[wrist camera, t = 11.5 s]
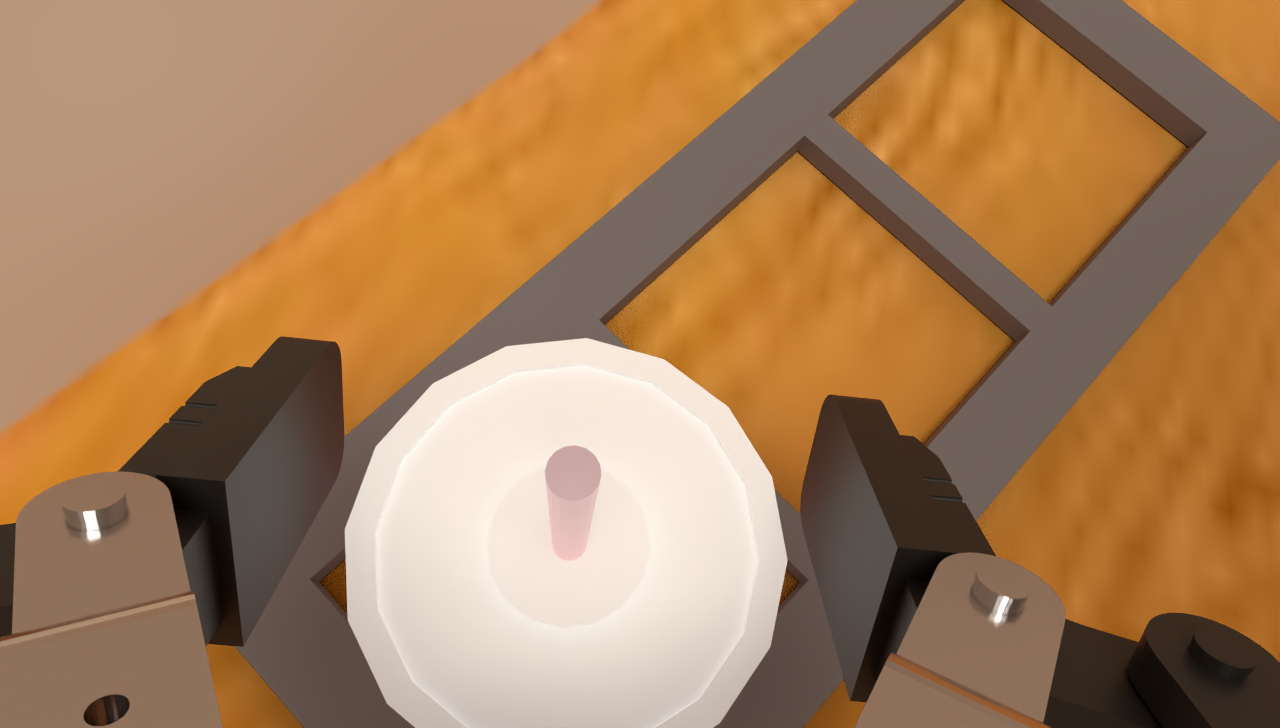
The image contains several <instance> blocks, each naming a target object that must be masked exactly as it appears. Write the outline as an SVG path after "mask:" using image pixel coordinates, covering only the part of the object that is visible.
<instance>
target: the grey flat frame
mask: <svg viewBox="0 0 1280 728" xmlns="http://www.w3.org/2000/svg"><path fill="white" fill-rule="evenodd" d="M963 1H964V0H857V1H856V2H855V3H853V4H852V5H851V6H850V7H849V8H848V9H846V10H845V11H844V12H843V13H842V14H840V15H839V16H838V17H837V18H836V19H835V20H833V21H832V22H831V23H830V24H829V25H828V26H826V27H825V28H824V29H823V30H822V31H820V32H819V33H818V34H817V35H816V36H815V37H813V38H812V39H811V40H810V41H809V42H808V43H806V44H805V45H804V46H803V47H802V48H801V49H799V50H798V51H797V52H796V53H795V54H793V55H792V56H791V57H790V58H789V59H788V60H786V61H785V62H784V63H783V64H782V65H781V66H779V67H778V68H777V69H776V70H775V71H773V72H772V73H771V74H770V75H769V76H768V77H766V78H765V79H764V80H763V81H762V82H761V83H759V84H758V85H757V86H756V87H755V88H754V89H752V90H751V91H750V92H749V93H748V94H746V95H745V96H744V97H743V98H742V99H741V100H739V101H738V102H737V103H736V104H735V105H734V106H732V107H731V108H730V109H729V110H728V111H727V112H725V113H724V114H723V115H722V116H721V117H719V118H718V119H717V120H716V121H715V122H714V123H712V124H711V125H710V126H709V127H708V128H707V129H705V130H704V131H703V132H702V133H701V134H699V135H698V136H697V137H696V138H695V139H694V140H692V141H691V142H690V143H689V144H688V145H687V146H685V147H684V148H683V149H682V150H681V151H680V152H678V153H677V154H676V155H675V156H674V157H672V158H671V159H670V160H669V161H668V162H667V163H665V164H664V165H663V166H662V167H661V168H660V169H658V170H657V171H656V172H655V173H654V174H653V175H651V176H650V177H649V178H648V179H647V180H645V181H644V182H643V183H642V184H641V185H640V186H638V187H637V188H636V189H635V190H634V191H633V192H631V193H630V194H629V195H628V196H627V197H625V198H624V199H623V200H622V201H621V202H620V203H618V204H617V205H616V206H615V207H614V208H613V209H611V210H610V211H609V212H608V213H607V214H606V215H604V216H603V217H602V218H601V219H600V220H598V221H597V222H596V223H595V224H594V225H593V226H591V227H590V228H589V229H588V230H587V231H586V232H584V233H583V234H582V235H581V236H580V237H579V238H577V239H576V240H575V241H574V242H573V243H571V244H570V245H569V246H568V247H567V248H566V249H564V250H563V251H562V252H561V253H560V254H559V255H557V256H556V257H555V258H554V259H553V260H551V261H550V262H549V263H548V264H547V265H546V266H544V267H543V268H542V269H541V270H540V271H539V272H537V273H536V274H535V275H534V276H533V277H532V278H530V279H529V280H528V281H527V282H526V283H524V284H523V285H522V286H521V287H520V288H519V289H517V290H516V291H515V292H514V293H513V294H512V295H510V296H509V297H508V298H507V299H506V300H505V301H503V302H502V303H501V304H500V305H499V306H497V307H496V308H495V309H494V310H493V311H492V312H490V313H489V314H488V315H487V316H486V317H485V318H483V319H482V320H481V321H480V322H479V323H477V324H476V325H475V326H474V327H473V328H472V329H470V330H469V331H468V332H467V333H466V334H465V335H463V336H462V337H461V338H460V339H459V340H458V341H456V342H455V343H454V344H453V345H452V346H450V347H449V348H448V349H447V350H446V351H445V352H443V353H442V354H441V355H440V356H439V357H438V358H436V359H435V360H434V361H433V362H432V363H431V364H429V365H428V366H427V367H426V368H425V369H423V370H422V371H421V372H420V373H419V374H418V375H416V376H415V377H414V378H413V379H412V380H411V381H409V382H408V383H407V384H406V385H405V386H403V387H402V388H401V389H400V390H399V391H398V392H396V393H395V394H394V395H393V396H392V397H391V398H389V399H388V400H387V401H386V402H385V403H384V404H382V405H381V406H380V407H379V408H378V409H376V410H375V411H374V412H373V413H372V414H371V415H369V416H368V417H367V418H366V419H365V420H364V421H362V422H361V423H360V424H359V425H358V426H357V427H355V428H354V429H353V430H352V431H351V432H349V433H348V434H347V435H346V436H345V437H344V452H343V459H342V464H341V468H340V471H339V474H338V477H337V480H336V482H335V484H334V485H333V487H332V489H331V491H330V493H329V494H328V496H327V498H326V500H325V502H324V503H323V505H322V507H321V509H320V511H319V512H318V514H317V516H316V518H315V519H314V521H313V523H312V525H311V527H310V528H309V530H308V532H307V534H306V536H305V537H304V539H303V541H302V543H301V545H300V546H299V548H298V550H297V552H296V554H295V555H294V557H293V559H292V561H291V563H290V564H289V566H288V568H287V570H286V572H285V573H284V575H283V577H282V579H281V581H280V582H279V584H278V586H277V588H276V590H275V591H274V593H273V595H272V597H271V598H270V600H269V602H268V604H267V606H266V607H265V609H264V611H263V613H262V615H261V616H260V618H259V620H258V622H257V624H256V625H255V627H254V629H253V631H252V633H251V634H250V636H249V638H248V640H247V642H246V643H245V645H244V647H241V646H235V647H236V648H237V650H238V651H239V652H240V653H241V654H242V655H243V657H244V658H245V659H246V660H247V661H248V663H249V664H250V665H251V666H252V667H253V668H254V670H255V671H256V672H257V673H258V674H259V675H260V677H261V678H262V679H263V680H264V681H265V683H266V684H267V685H268V686H269V687H270V688H271V690H272V691H273V692H274V693H275V694H276V695H277V697H278V698H279V699H280V700H281V701H282V703H283V704H284V705H285V706H286V707H287V708H288V710H289V711H290V712H291V713H292V714H293V715H294V717H295V718H296V719H297V720H298V721H299V723H300V724H301V725H302V726H303V727H304V728H415V727H414V726H413V725H411V724H410V723H409V722H408V721H407V720H406V719H404V718H403V717H402V716H401V715H400V714H398V713H397V712H396V711H395V710H394V709H393V708H391V707H390V706H389V705H388V704H387V703H386V700H385V698H384V696H383V694H382V692H381V690H380V688H379V686H378V683H377V681H376V679H375V677H374V675H373V673H372V671H371V669H370V667H369V664H368V662H367V660H366V658H365V656H364V654H363V652H362V650H361V647H360V645H359V643H358V641H357V639H356V637H355V635H354V633H353V630H352V628H351V626H350V624H349V622H348V615H347V613H346V612H345V610H344V609H343V608H342V607H341V606H340V605H339V604H338V603H337V601H336V600H335V599H334V598H333V597H332V596H331V595H330V594H329V592H328V591H327V590H326V589H325V588H324V587H323V586H322V585H321V583H320V581H321V580H322V579H323V578H324V577H325V576H326V575H328V574H329V573H330V572H331V571H332V570H333V569H334V568H335V567H336V566H338V565H339V564H340V563H341V562H342V561H343V560H344V559H345V558H346V555H345V527H346V525H347V522H348V519H349V517H350V514H351V511H352V509H353V506H354V503H355V501H356V498H357V495H358V493H359V490H360V487H361V484H362V482H363V479H364V476H365V474H366V471H367V468H368V466H369V463H370V460H371V458H372V455H373V452H374V450H375V447H376V446H377V445H378V444H379V442H380V441H381V440H382V439H383V438H384V437H385V436H386V435H387V434H388V432H389V431H390V430H391V429H392V428H393V427H394V426H395V425H396V424H397V423H398V421H399V420H400V419H401V418H402V417H403V416H404V415H405V414H406V413H407V411H408V410H409V409H410V408H411V407H412V406H413V405H414V404H415V403H416V401H417V400H418V399H419V398H420V397H421V396H422V395H423V394H424V393H425V391H426V390H427V389H428V388H429V387H430V386H431V385H432V384H433V383H435V382H437V381H439V380H441V379H443V378H445V377H446V376H448V375H450V374H452V373H454V372H456V371H458V370H460V369H462V368H464V367H466V366H468V365H470V364H472V363H474V362H476V361H478V360H480V359H482V358H484V357H486V356H488V355H490V354H492V353H494V352H496V351H498V350H500V349H502V348H504V347H506V346H513V345H523V344H533V343H543V342H553V341H563V340H573V339H582V338H588V339H592V340H596V341H599V342H603V343H607V344H610V345H614V346H618V347H621V348H625V349H629V348H627V347H626V346H625V345H624V344H623V343H622V342H621V341H620V340H619V339H618V338H617V337H616V336H615V335H614V334H613V333H612V332H611V331H610V330H609V329H608V328H607V327H606V326H605V324H606V323H607V322H608V321H609V320H611V319H612V318H613V317H614V316H615V315H616V314H617V313H618V312H619V311H620V310H622V309H623V308H624V307H625V306H626V305H627V304H628V303H629V302H630V301H632V300H633V299H634V298H635V297H636V296H637V295H638V294H639V293H640V292H642V291H643V290H644V289H645V288H646V287H647V286H648V285H649V284H650V283H652V282H653V281H654V280H655V279H656V278H657V277H658V276H659V275H660V274H662V273H663V272H664V271H665V270H666V269H667V268H668V267H669V266H670V265H672V264H673V263H674V262H675V261H676V260H677V259H678V258H679V257H680V256H682V255H683V254H684V253H685V252H686V251H687V250H688V249H689V248H690V247H691V246H693V245H694V244H695V243H696V242H697V241H698V240H699V239H700V238H701V237H703V236H704V235H705V234H706V233H707V232H708V231H709V230H710V229H711V228H713V227H714V226H715V225H716V224H717V223H718V222H719V221H720V220H721V219H723V218H724V217H725V216H726V215H727V214H728V213H729V212H730V211H731V210H733V209H734V208H735V207H736V206H737V205H738V204H739V203H740V202H741V201H743V200H744V199H745V198H746V197H747V196H748V195H749V194H750V193H751V192H753V191H754V190H755V189H756V188H757V187H758V186H759V185H760V184H761V183H762V182H764V181H765V180H766V179H767V178H768V177H769V176H770V175H771V174H772V173H774V172H775V171H776V170H777V169H778V168H779V167H780V166H781V165H782V164H784V163H785V162H786V161H787V160H788V159H789V158H790V157H791V156H792V155H794V154H795V153H796V152H797V151H798V152H799V153H800V154H801V155H802V156H804V157H805V158H806V159H807V160H808V161H809V162H810V163H812V164H813V165H814V166H815V167H816V168H817V169H818V170H820V171H821V172H822V173H823V174H824V175H825V176H826V177H828V178H829V179H830V180H831V181H832V182H833V183H834V184H836V185H837V186H838V187H839V188H840V189H841V190H842V191H844V192H845V193H846V194H847V195H848V196H849V197H850V198H852V199H853V200H854V201H855V202H856V203H857V204H859V205H860V206H861V207H862V208H863V209H864V210H865V211H867V212H868V213H869V214H870V215H871V216H872V217H873V218H875V219H876V220H877V221H878V222H879V223H880V224H881V225H883V226H884V227H885V228H886V229H887V230H888V231H889V232H891V233H892V234H893V235H894V236H895V237H896V238H897V239H899V240H900V241H901V242H902V243H903V244H904V245H905V246H907V247H908V248H909V249H910V250H911V251H912V252H913V253H915V254H916V255H917V256H918V257H919V258H920V259H921V260H923V261H924V262H925V263H926V264H927V265H928V266H930V267H931V268H932V269H933V270H934V271H935V272H936V273H938V274H939V275H940V276H941V277H942V278H943V279H944V280H946V281H947V282H948V283H949V284H950V285H951V286H952V287H954V288H955V289H956V290H957V291H958V292H959V293H960V294H962V295H963V296H964V297H965V298H966V299H967V300H968V301H970V302H971V303H972V304H973V305H974V306H975V307H976V308H978V309H979V310H980V311H981V312H982V313H983V314H984V315H986V316H987V317H988V318H989V319H990V320H991V321H992V322H994V323H995V324H996V325H997V326H998V327H999V328H1000V329H1002V330H1003V331H1004V332H1005V333H1006V334H1007V335H1009V336H1010V337H1011V338H1012V339H1013V340H1014V341H1015V342H1014V344H1013V345H1012V346H1011V347H1010V348H1009V349H1008V350H1007V351H1006V353H1005V354H1004V355H1003V356H1002V357H1001V358H1000V359H999V360H998V361H997V363H996V364H995V365H994V366H993V367H992V368H991V369H990V370H989V372H988V373H987V374H986V375H985V376H984V377H983V378H982V379H981V381H980V382H979V383H978V384H977V385H976V386H975V387H974V388H973V389H972V391H971V392H970V393H969V394H968V395H967V396H966V397H965V398H964V400H963V401H962V402H961V403H960V404H959V405H958V406H957V407H956V408H955V410H954V411H953V412H952V413H951V414H950V415H949V416H948V417H947V419H946V420H945V421H944V422H943V423H942V424H941V425H940V426H939V428H938V429H937V430H936V431H935V432H934V433H933V434H932V435H931V436H930V438H929V439H928V440H927V441H926V442H925V443H924V444H923V445H925V446H926V447H927V448H928V449H930V450H931V451H932V452H933V453H934V454H936V455H937V456H938V457H939V458H940V460H941V461H942V463H943V465H944V467H945V468H946V470H947V472H948V474H949V475H950V477H951V479H952V484H955V486H956V487H957V489H958V491H959V493H960V494H961V496H962V498H963V500H962V502H963V503H966V505H967V507H968V508H969V510H970V512H971V513H972V515H973V517H974V519H975V520H977V519H978V518H979V517H980V516H981V514H982V513H983V512H984V511H985V510H986V509H987V507H988V506H989V505H990V504H991V503H992V501H993V500H994V499H995V498H996V497H997V495H998V494H999V493H1000V492H1001V491H1002V489H1003V488H1004V487H1005V486H1006V485H1007V483H1008V482H1009V481H1010V480H1011V479H1012V477H1013V476H1014V475H1015V474H1016V473H1017V472H1018V470H1019V469H1020V468H1021V467H1022V466H1023V464H1024V463H1025V462H1026V461H1027V460H1028V458H1029V457H1030V456H1031V455H1032V454H1033V452H1034V451H1035V450H1036V449H1037V448H1038V446H1039V445H1040V444H1041V443H1042V442H1043V440H1044V439H1045V438H1046V437H1047V436H1048V435H1049V433H1050V432H1051V431H1052V430H1053V429H1054V427H1055V426H1056V425H1057V424H1058V423H1059V421H1060V420H1061V419H1062V418H1063V417H1064V415H1065V414H1066V413H1067V412H1068V411H1069V409H1070V408H1071V407H1072V406H1073V405H1074V403H1075V402H1076V401H1077V400H1078V399H1079V398H1080V396H1081V395H1082V394H1083V393H1084V392H1085V390H1086V389H1087V388H1088V387H1089V386H1090V384H1091V383H1092V382H1093V381H1094V380H1095V378H1096V377H1097V376H1098V375H1099V374H1100V372H1101V371H1102V370H1103V369H1104V368H1105V366H1106V365H1107V364H1108V363H1109V362H1110V361H1111V359H1112V358H1113V357H1114V356H1115V355H1116V353H1117V352H1118V351H1119V350H1120V349H1121V347H1122V346H1123V345H1124V344H1125V343H1126V341H1127V340H1128V339H1129V338H1130V337H1131V335H1132V334H1133V333H1134V332H1135V331H1136V329H1137V328H1138V327H1139V326H1140V325H1141V323H1142V322H1143V321H1144V320H1145V319H1146V318H1147V316H1148V315H1149V314H1150V313H1151V312H1152V310H1153V309H1154V308H1155V307H1156V306H1157V304H1158V303H1159V302H1160V301H1161V300H1162V298H1163V297H1164V296H1165V295H1166V294H1167V292H1168V291H1169V290H1170V289H1171V288H1172V286H1173V285H1174V284H1175V283H1176V282H1177V281H1178V279H1179V278H1180V277H1181V276H1182V275H1183V273H1184V272H1185V271H1186V270H1187V269H1188V267H1189V266H1190V265H1191V264H1192V263H1193V261H1194V260H1195V259H1196V258H1197V257H1198V255H1199V254H1200V253H1201V252H1202V251H1203V249H1204V248H1205V247H1206V246H1207V245H1208V244H1209V242H1210V241H1211V240H1212V239H1213V238H1214V236H1215V235H1216V234H1217V233H1218V232H1219V230H1220V229H1221V228H1222V227H1223V226H1224V224H1225V223H1226V222H1227V221H1228V220H1229V218H1230V217H1231V216H1232V215H1233V214H1234V212H1235V211H1236V210H1237V209H1238V208H1239V207H1240V205H1241V204H1242V203H1243V202H1244V201H1245V199H1246V198H1247V197H1248V196H1249V195H1250V193H1251V192H1252V191H1253V190H1254V189H1255V187H1256V186H1257V185H1258V184H1259V183H1260V181H1261V180H1262V179H1263V178H1264V177H1265V175H1266V174H1267V173H1268V172H1269V171H1270V170H1271V168H1272V167H1273V166H1274V165H1275V164H1276V162H1277V161H1278V160H1279V159H1280V122H1279V121H1278V120H1276V119H1275V118H1274V117H1272V116H1271V115H1270V114H1269V113H1267V112H1266V111H1265V110H1263V109H1262V108H1261V107H1259V106H1258V105H1257V104H1256V103H1254V102H1253V101H1252V100H1250V99H1249V98H1248V97H1246V96H1245V95H1244V94H1243V93H1241V92H1240V91H1239V90H1237V89H1236V88H1235V87H1233V86H1232V85H1231V84H1229V83H1228V82H1227V81H1226V80H1224V79H1223V78H1222V77H1220V76H1219V75H1218V74H1216V73H1215V72H1214V71H1213V70H1211V69H1210V68H1209V67H1207V66H1206V65H1205V64H1203V63H1202V62H1201V61H1200V60H1198V59H1197V58H1196V57H1194V56H1193V55H1192V54H1190V53H1189V52H1188V51H1187V50H1185V49H1184V48H1183V47H1181V46H1180V45H1179V44H1177V43H1176V42H1175V41H1174V40H1172V39H1171V38H1170V37H1168V36H1167V35H1166V34H1164V33H1163V32H1162V31H1161V30H1159V29H1158V28H1157V27H1155V26H1154V25H1153V24H1151V23H1150V22H1149V21H1148V20H1146V19H1145V18H1144V17H1142V16H1141V15H1140V14H1138V13H1137V12H1136V11H1135V10H1133V9H1132V8H1131V7H1129V6H1128V5H1127V4H1125V3H1124V2H1123V1H1122V0H1003V1H1005V2H1006V3H1007V4H1008V5H1010V6H1011V7H1012V8H1013V9H1015V10H1016V11H1017V12H1018V13H1020V14H1021V15H1022V16H1024V17H1025V18H1026V19H1027V20H1029V21H1030V22H1031V23H1032V24H1034V25H1035V26H1036V27H1037V28H1039V29H1040V30H1041V31H1042V32H1044V33H1045V34H1046V35H1048V36H1049V37H1050V38H1051V39H1053V40H1054V41H1055V42H1056V43H1058V44H1059V45H1060V46H1061V47H1063V48H1064V49H1065V50H1066V51H1068V52H1069V53H1070V54H1072V55H1073V56H1074V57H1075V58H1077V59H1078V60H1079V61H1080V62H1082V63H1083V64H1084V65H1085V66H1087V67H1088V68H1089V69H1090V70H1092V71H1093V72H1094V73H1096V74H1097V75H1098V76H1099V77H1101V78H1102V79H1103V80H1104V81H1106V82H1107V83H1108V84H1109V85H1111V86H1112V87H1113V88H1114V89H1116V90H1117V91H1118V92H1120V93H1121V94H1122V95H1123V96H1125V97H1126V98H1127V99H1128V100H1130V101H1131V102H1132V103H1133V104H1135V105H1136V106H1137V107H1138V108H1140V109H1141V110H1142V111H1144V112H1145V113H1146V114H1147V115H1149V116H1150V117H1151V118H1152V119H1154V120H1155V121H1156V122H1157V123H1159V124H1160V125H1161V126H1162V127H1164V128H1165V129H1166V130H1168V131H1169V132H1170V133H1171V134H1173V135H1174V136H1175V137H1176V138H1178V139H1179V140H1180V141H1181V142H1183V143H1184V144H1185V145H1187V146H1188V147H1189V148H1188V149H1187V150H1186V151H1185V152H1184V153H1183V154H1182V156H1181V157H1180V158H1179V159H1178V160H1177V161H1176V162H1175V163H1174V165H1173V166H1172V167H1171V168H1170V169H1169V170H1168V171H1167V172H1166V173H1165V175H1164V176H1163V177H1162V178H1161V179H1160V180H1159V181H1158V182H1157V184H1156V185H1155V186H1154V187H1153V188H1152V189H1151V190H1150V191H1149V193H1148V194H1147V195H1146V196H1145V197H1144V198H1143V199H1142V200H1141V201H1140V203H1139V204H1138V205H1137V206H1136V207H1135V208H1134V209H1133V210H1132V212H1131V213H1130V214H1129V215H1128V216H1127V217H1126V218H1125V219H1124V220H1123V222H1122V223H1121V224H1120V225H1119V226H1118V227H1117V228H1116V229H1115V231H1114V232H1113V233H1112V234H1111V235H1110V236H1109V237H1108V238H1107V240H1106V241H1105V242H1104V243H1103V244H1102V245H1101V246H1100V247H1099V248H1098V250H1097V251H1096V252H1095V253H1094V254H1093V255H1092V256H1091V257H1090V259H1089V260H1088V261H1087V262H1086V263H1085V264H1084V265H1083V266H1082V267H1081V269H1080V270H1079V271H1078V272H1077V273H1076V274H1075V275H1074V276H1073V278H1072V279H1071V280H1070V281H1069V282H1068V283H1067V284H1066V285H1065V287H1064V288H1063V289H1062V290H1061V291H1060V292H1059V293H1058V294H1057V295H1056V297H1055V298H1054V299H1053V300H1052V301H1051V302H1050V303H1049V304H1048V303H1047V302H1046V301H1045V300H1044V299H1042V298H1041V297H1040V296H1039V295H1038V294H1037V293H1035V292H1034V291H1033V290H1032V289H1031V288H1030V287H1028V286H1027V285H1026V284H1025V283H1024V282H1023V281H1021V280H1020V279H1019V278H1018V277H1017V276H1016V275H1014V274H1013V273H1012V272H1011V271H1010V270H1009V269H1007V268H1006V267H1005V266H1004V265H1003V264H1002V263H1000V262H999V261H998V260H997V259H996V258H995V257H993V256H992V255H991V254H990V253H989V252H988V251H986V250H985V249H984V248H983V247H982V246H981V245H979V244H978V243H977V242H976V241H975V240H974V239H972V238H971V237H970V236H969V235H968V234H967V233H965V232H964V231H963V230H962V229H961V228H959V227H958V226H957V225H956V224H955V223H954V222H952V221H951V220H950V219H949V218H948V217H947V216H945V215H944V214H943V213H942V212H941V211H940V210H938V209H937V208H936V207H935V206H934V205H933V204H931V203H930V202H929V201H928V200H927V199H926V198H924V197H923V196H922V195H921V194H920V193H919V192H917V191H916V190H915V189H914V188H913V187H912V186H910V185H909V184H908V183H907V182H906V181H905V180H903V179H902V178H901V177H900V176H899V175H898V174H896V173H895V172H894V171H893V170H892V169H891V168H889V167H888V166H887V165H886V164H885V163H884V162H882V161H881V160H880V159H879V158H878V157H877V156H875V155H874V154H873V153H872V152H871V151H870V150H868V149H867V148H866V147H865V146H864V145H863V144H861V143H860V142H859V141H858V140H857V139H856V138H854V137H853V136H852V135H851V134H850V133H849V132H847V131H846V130H845V129H844V128H843V127H842V126H840V125H839V124H838V123H837V122H836V121H835V120H833V119H834V118H835V117H836V116H837V115H838V114H839V113H840V112H841V111H842V110H843V109H845V108H846V107H847V106H848V105H849V104H850V103H851V102H852V101H853V100H855V99H856V98H857V97H858V96H859V95H860V94H861V93H862V92H863V91H865V90H866V89H867V88H868V87H869V86H870V85H871V84H872V83H873V82H875V81H876V80H877V79H878V78H879V77H880V76H881V75H882V74H883V73H885V72H886V71H887V70H888V69H889V68H890V67H891V66H892V65H893V64H895V63H896V62H897V61H898V60H899V59H900V58H901V57H902V56H903V55H905V54H906V53H907V52H908V51H909V50H910V49H911V48H912V47H913V46H914V45H916V44H917V43H918V42H919V41H920V40H921V39H922V38H923V37H924V36H926V35H927V34H928V33H929V32H930V31H931V30H932V29H933V28H934V27H936V26H937V25H938V24H939V23H940V22H941V21H942V20H943V19H944V18H946V17H947V16H948V15H949V14H950V13H951V12H952V11H953V10H954V9H956V8H957V7H958V6H959V5H960V4H961V3H962V2H963ZM629 350H630V349H629ZM775 495H776V501H777V506H778V512H779V517H780V522H781V528H782V533H783V538H784V544H785V549H786V554H787V560H788V561H787V566H786V570H787V571H788V572H789V573H790V574H791V575H793V576H794V577H795V578H796V579H797V580H798V581H799V582H800V583H799V584H798V585H797V586H796V588H795V589H794V590H793V591H792V592H791V593H790V594H789V595H788V596H787V598H786V599H785V600H784V601H783V602H782V603H781V604H780V605H779V607H778V611H777V616H776V621H775V626H774V631H773V636H772V641H771V647H770V648H769V650H768V651H767V653H766V654H765V656H764V657H763V659H762V660H761V662H760V663H759V665H758V666H757V668H756V669H755V671H754V672H753V674H752V675H751V677H750V678H749V680H748V681H747V683H746V685H745V686H744V688H743V689H742V691H741V692H740V694H739V695H738V697H737V698H736V700H735V701H734V703H733V704H732V706H731V707H730V709H729V710H728V712H727V713H726V715H725V716H724V718H723V719H722V721H721V722H720V723H719V724H718V725H716V726H715V727H713V728H803V727H804V726H805V725H806V723H807V722H808V721H809V720H810V719H811V717H812V716H813V715H814V714H815V713H816V711H817V710H818V709H819V708H820V707H821V705H822V704H823V703H824V702H825V701H826V699H827V698H828V697H829V696H830V695H831V694H832V692H833V691H834V690H835V689H836V688H837V686H838V685H839V684H840V683H841V682H842V680H843V679H844V677H843V673H842V670H841V666H840V663H839V659H838V655H837V652H836V648H835V644H834V641H833V637H832V634H831V630H830V626H829V623H828V619H827V616H826V612H825V608H824V605H823V601H822V597H821V594H820V590H819V587H818V583H817V579H816V576H815V572H814V569H813V565H812V561H811V558H810V554H809V551H808V547H807V543H806V540H805V536H804V532H803V529H802V524H801V515H800V514H799V513H798V512H797V511H796V510H795V509H794V508H793V507H792V506H791V505H790V504H789V503H788V502H787V501H786V500H785V499H784V498H782V497H781V496H780V495H779V494H778V493H777V492H776V491H775Z"/></svg>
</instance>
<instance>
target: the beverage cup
mask: <svg viewBox="0 0 1280 728" xmlns="http://www.w3.org/2000/svg"><path fill="white" fill-rule="evenodd" d="M345 555H346V585H347V615H348V622H349V624H350V626H351V628H352V630H353V633H354V635H355V637H356V639H357V641H358V643H359V645H360V647H361V650H362V652H363V654H364V656H365V658H366V660H367V662H368V664H369V667H370V669H371V671H372V673H373V675H374V677H375V679H376V681H377V683H378V686H379V688H380V690H381V692H382V694H383V696H384V698H385V700H386V703H387V704H388V705H389V706H390V707H391V708H393V709H394V710H395V711H396V712H397V713H398V714H400V715H401V716H402V717H403V718H404V719H406V720H407V721H408V722H409V723H410V724H411V725H413V726H414V727H415V728H713V727H715V726H716V725H718V724H719V723H720V722H721V721H722V719H723V718H724V716H725V715H726V713H727V712H728V710H729V709H730V707H731V706H732V704H733V703H734V701H735V700H736V698H737V697H738V695H739V694H740V692H741V691H742V689H743V688H744V686H745V685H746V683H747V681H748V680H749V678H750V677H751V675H752V674H753V672H754V671H755V669H756V668H757V666H758V665H759V663H760V662H761V660H762V659H763V657H764V656H765V654H766V653H767V651H768V650H769V648H770V647H771V641H772V636H773V631H774V626H775V621H776V616H777V611H778V606H779V601H780V596H781V591H782V586H783V581H784V576H785V571H786V566H787V561H788V560H787V554H786V549H785V544H784V538H783V533H782V528H781V522H780V517H779V512H778V506H777V501H776V495H775V490H774V485H773V479H772V476H771V474H770V473H769V471H768V470H767V468H766V466H765V465H764V463H763V462H762V460H761V458H760V457H759V455H758V454H757V452H756V450H755V449H754V447H753V446H752V444H751V442H750V441H749V439H748V438H747V436H746V434H745V433H744V431H743V430H742V428H741V426H740V425H739V423H738V422H737V420H736V418H735V417H734V415H733V414H732V412H731V410H730V409H729V407H728V406H726V405H725V404H724V403H722V402H721V401H720V400H718V399H717V398H715V397H714V396H713V395H711V394H710V393H709V392H707V391H706V390H705V389H703V388H702V387H701V386H699V385H698V384H697V383H695V382H694V381H693V380H691V379H690V378H689V377H687V376H686V375H684V374H683V373H682V372H680V371H679V370H678V369H676V368H675V367H674V366H672V365H671V364H670V363H668V362H667V361H666V360H664V359H661V358H658V357H654V356H650V355H647V354H643V353H639V352H636V351H632V350H629V349H625V348H621V347H618V346H614V345H610V344H607V343H603V342H599V341H596V340H592V339H588V338H582V339H573V340H563V341H553V342H543V343H533V344H523V345H513V346H506V347H504V348H502V349H500V350H498V351H496V352H494V353H492V354H490V355H488V356H486V357H484V358H482V359H480V360H478V361H476V362H474V363H472V364H470V365H468V366H466V367H464V368H462V369H460V370H458V371H456V372H454V373H452V374H450V375H448V376H446V377H445V378H443V379H441V380H439V381H437V382H435V383H433V384H432V385H431V386H430V387H429V388H428V389H427V390H426V391H425V393H424V394H423V395H422V396H421V397H420V398H419V399H418V400H417V401H416V403H415V404H414V405H413V406H412V407H411V408H410V409H409V410H408V411H407V413H406V414H405V415H404V416H403V417H402V418H401V419H400V420H399V421H398V423H397V424H396V425H395V426H394V427H393V428H392V429H391V430H390V431H389V432H388V434H387V435H386V436H385V437H384V438H383V439H382V440H381V441H380V442H379V444H378V445H377V446H376V447H375V450H374V452H373V455H372V458H371V460H370V463H369V466H368V468H367V471H366V474H365V476H364V479H363V482H362V484H361V487H360V490H359V493H358V495H357V498H356V501H355V503H354V506H353V509H352V511H351V514H350V517H349V519H348V522H347V525H346V527H345Z"/></svg>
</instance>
